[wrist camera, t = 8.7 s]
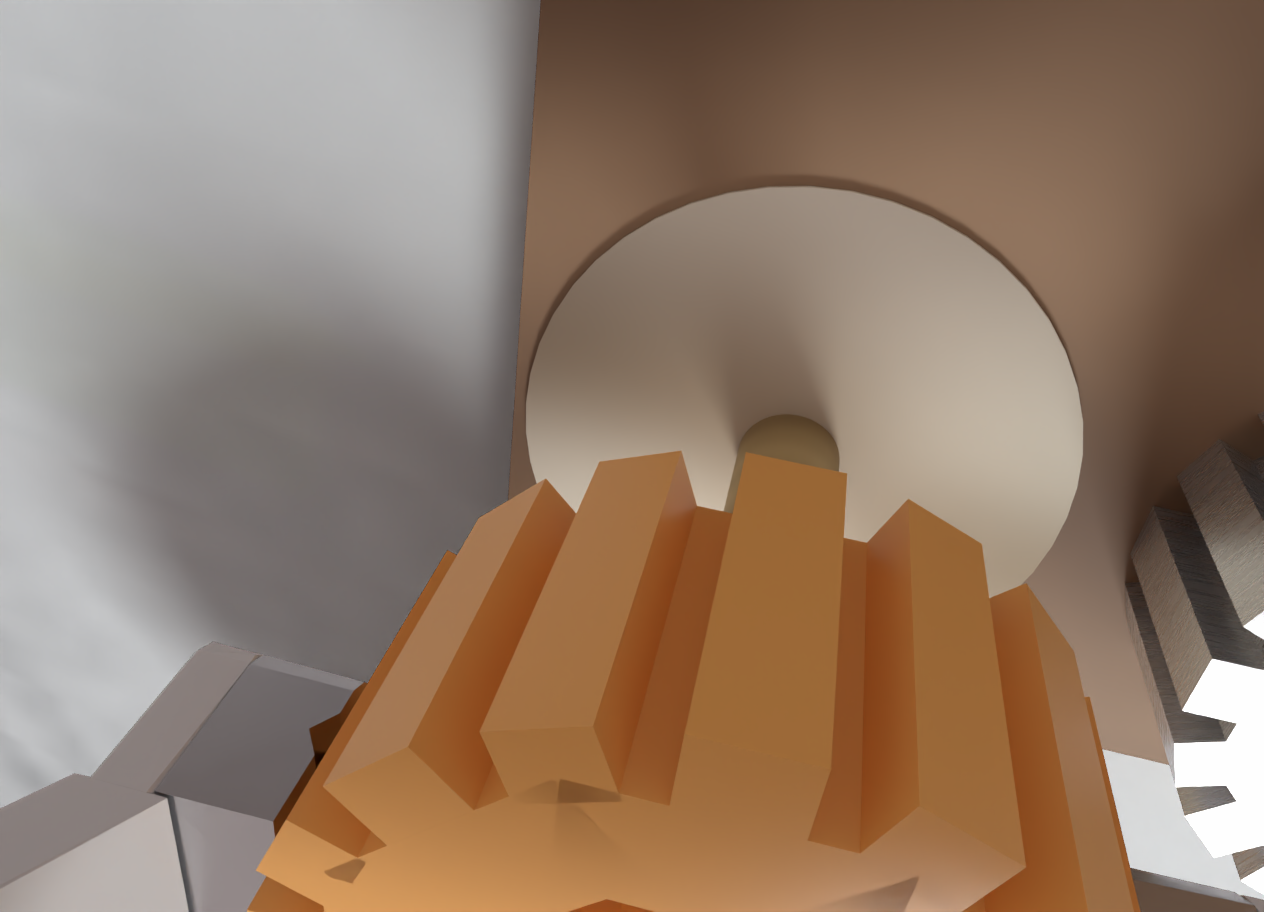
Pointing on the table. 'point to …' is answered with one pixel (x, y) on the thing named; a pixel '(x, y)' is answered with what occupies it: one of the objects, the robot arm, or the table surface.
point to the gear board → (907, 269)
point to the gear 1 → (711, 721)
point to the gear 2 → (1209, 648)
